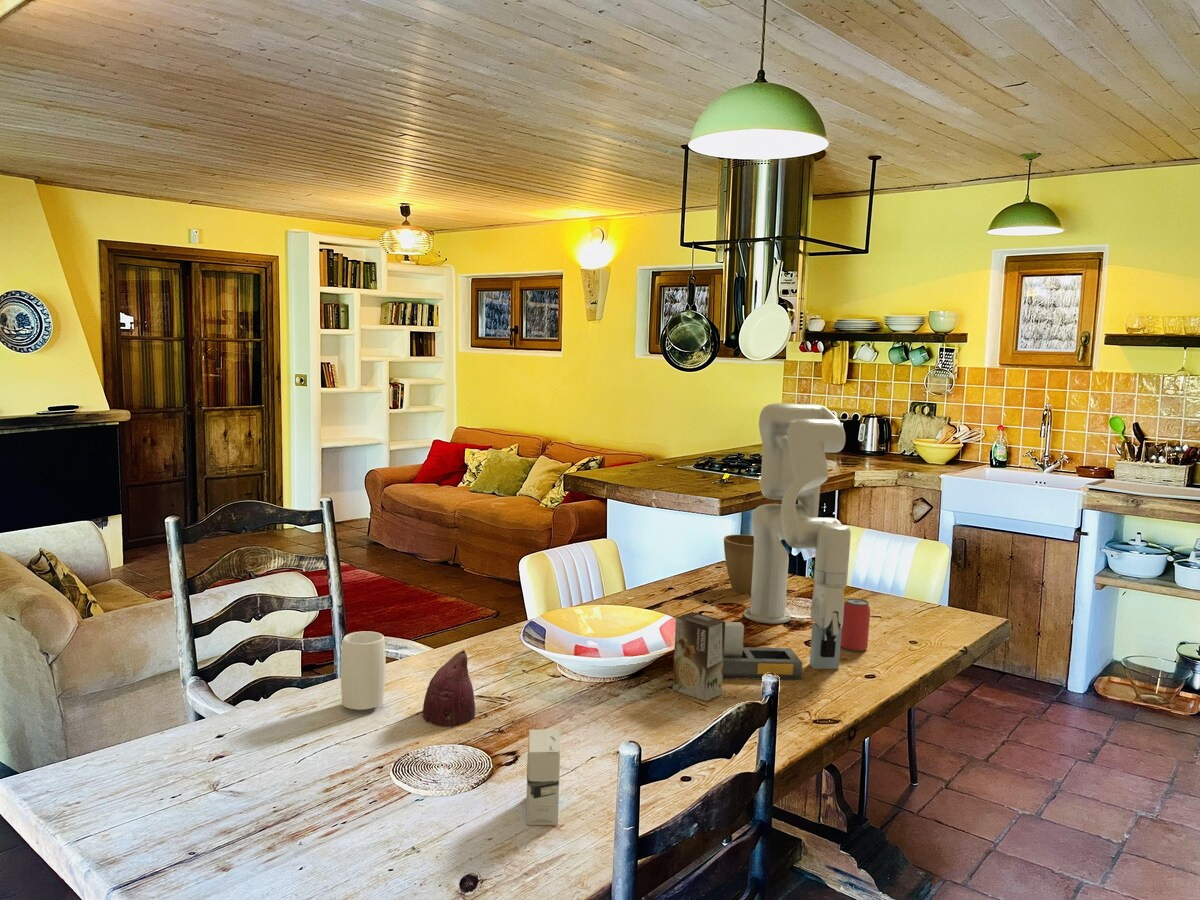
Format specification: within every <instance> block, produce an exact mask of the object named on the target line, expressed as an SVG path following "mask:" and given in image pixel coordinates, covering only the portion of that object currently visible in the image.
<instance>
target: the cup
mask: <svg viewBox="0 0 1200 900" xmlns="http://www.w3.org/2000/svg"><path fill="white" fill-rule="evenodd" d="M340 655H341V656H340V689H341V691H340V693H341V704H342V705H343V707H344V708H347V709H351V710H358V711H359V710H369V709H374V708H376V707H379V706H381V705H383V703H384V699H385V698H384V697H385V688H386V687H385V686H386V685H385V684H386V665H387V664H386V642H385V636H384V634H382V633H380V632H376V631H369V630H368V631H363V630H362V631H353V632H350V633H348V634H346V635H344V637H343V638H342V643H341V653H340Z"/></svg>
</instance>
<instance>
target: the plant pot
mask: <svg viewBox="0 0 1200 900" xmlns="http://www.w3.org/2000/svg"><path fill="white" fill-rule="evenodd" d="M723 550H724V558H725V564H726V569H727V575H728V579H729V582H730V585H731V589H732V591H733V592H735V593H738V594H743V593H751V587H752V571H753V555H754V535H753V534H752V535H750V534H729V535H726V536H724V537H723Z"/></svg>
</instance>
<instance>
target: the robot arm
mask: <svg viewBox="0 0 1200 900" xmlns="http://www.w3.org/2000/svg"><path fill="white" fill-rule="evenodd" d="M758 419H759V420H758V429H759V435H760V440H761V444H762V457H761V467H760V468H761V469H760V472H761V473H760V491H761V494H762V495H763V497H765V498H766V499H770V500H778V501H779V500H780V501H781V503H766V504H761V505H759V506H757V507H756V508H755V509H754V510H753V512H752V517H751V523H752V532H753V534H752V535H753V536H754V555H753V571H752V587H751V594H750V604H749V606H750V607H748V608H745V610H744V611H743V615H744V617H745V618H747V619H749V620H750V621H753V622H756V623H761V624H771V625H772V624H775V625H776V624H785V623H787V622H790V621H791V614H790V613H789V612H788V611H786V607H787V606H786V603H787V588H788V587H787V586H788V577H789V576H788V575H789V573H788V572H789V561H790V560H789V553H788V551H787V549H786V547H785V546H784V545H783V542H782V540H784V541H785V543H786V544H787V545H788V546H789V547H790V548H793V549H801V550H802V549H805V550H807V549H808V550H811V549H812V550H813V549H815V556H814V557H815V560H814V571H813V583H814V585H813V589H812V597H811V604H810V605H811V606H810V614H809V615H810V618H811V620H812V621H813V623H816V624H817V625H818V626H819V627H820V628H822V629H824V631H823V640H821V654H820V655H821V657H834V656H835V644H836V636H838V635H839V631H838V629H841V628H842V624H843V614H844V604H845V588H846V587H847V586H848V575H849V564H850V563H849V562H850V550H851V549H850V548H851V536H852V533H851V529H850V528H849V526H847V525H845V524H842V523H841V521H840V519H839V520H838V519H837V518H835V517H822V516H821V517H819V507H820V505H819V504H820V493H821V485H822V484H824V483H826V481H827V480H828V479H829V469H828V465H827V458H826V453H839V452H841V451H842V450H843V449H844V447H845V444H846V431H845V429H844V426H843V424H842V422H841V421H840V419H838V417H837V416H836V415H835V414H834V413H833V412H832V411H831V410H829V409H828V408H827V407H826V406H824V405H820V404H813V403H812V404H810V403H808V404H807V403H789V402H788V403H786V402H784V403H782V402H781V403H780V402H779V403H777V402H775V403H770V404H767V405H765V406H764V407H763V408H762V409H761V412H760V414H759V418H758ZM796 503H797V504H796ZM829 625H831V627H828V626H829ZM827 630H831V631H830V632H828V633H827Z"/></svg>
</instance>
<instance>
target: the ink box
mask: <svg viewBox="0 0 1200 900" xmlns="http://www.w3.org/2000/svg"><path fill="white" fill-rule="evenodd" d="M560 742H561V741H560V729H557V728H553V729H552V728H551V729H549V728H548V729H545V728H544V729H533V728H532V729H531V728H530V729H529V730H528V745H527V761H526V762H527V763H526V765H527V767H526V826H558V823H559V804H560V775H561V774H560V769H561V767H560V765H561V744H560Z"/></svg>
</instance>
